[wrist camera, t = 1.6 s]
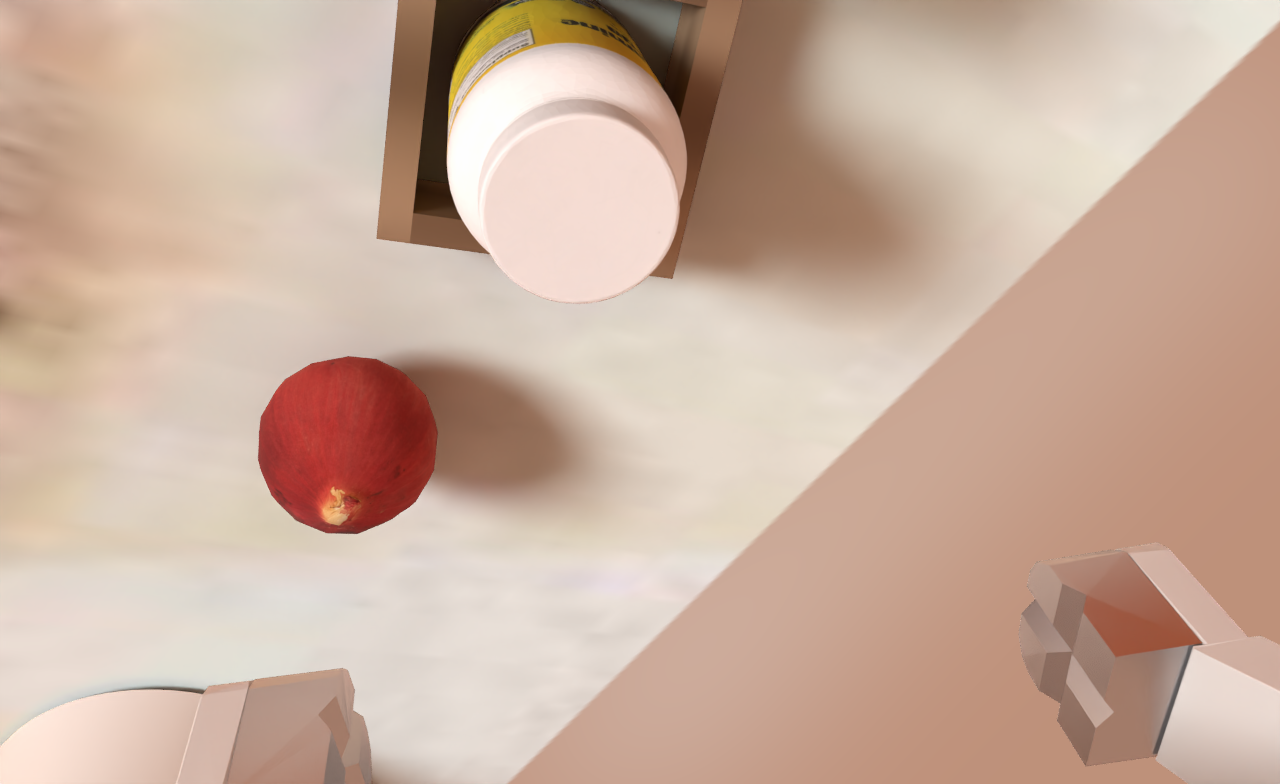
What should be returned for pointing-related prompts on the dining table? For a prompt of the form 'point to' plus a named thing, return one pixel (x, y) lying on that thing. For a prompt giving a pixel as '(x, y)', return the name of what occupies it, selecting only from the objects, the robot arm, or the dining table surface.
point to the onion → (347, 444)
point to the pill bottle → (563, 149)
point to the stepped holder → (429, 205)
